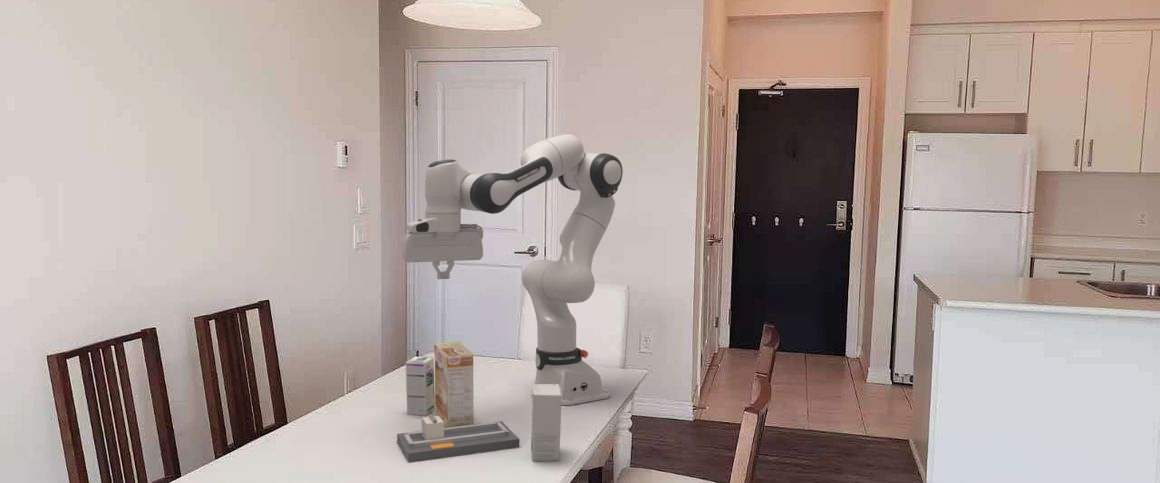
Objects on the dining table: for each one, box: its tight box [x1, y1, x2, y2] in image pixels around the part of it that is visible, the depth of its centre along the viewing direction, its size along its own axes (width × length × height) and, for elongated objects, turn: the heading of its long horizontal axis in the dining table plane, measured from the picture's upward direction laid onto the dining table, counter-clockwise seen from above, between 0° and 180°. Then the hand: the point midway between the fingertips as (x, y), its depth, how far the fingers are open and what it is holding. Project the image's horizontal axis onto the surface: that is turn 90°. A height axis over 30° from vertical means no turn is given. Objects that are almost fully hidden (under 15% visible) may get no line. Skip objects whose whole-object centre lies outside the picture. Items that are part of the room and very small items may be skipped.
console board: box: [396, 420, 521, 463], centre depth 187 cm, size 26×14×3 cm, turn 113°
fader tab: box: [421, 413, 444, 440], centre depth 185 cm, size 4×5×5 cm
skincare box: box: [530, 383, 562, 462], centre depth 181 cm, size 8×7×16 cm
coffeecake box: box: [433, 341, 475, 428], centre depth 202 cm, size 15×7×20 cm, turn 22°
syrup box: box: [405, 356, 435, 417], centre depth 211 cm, size 6×6×14 cm
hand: (443, 278), depth 201 cm, fingers closed
